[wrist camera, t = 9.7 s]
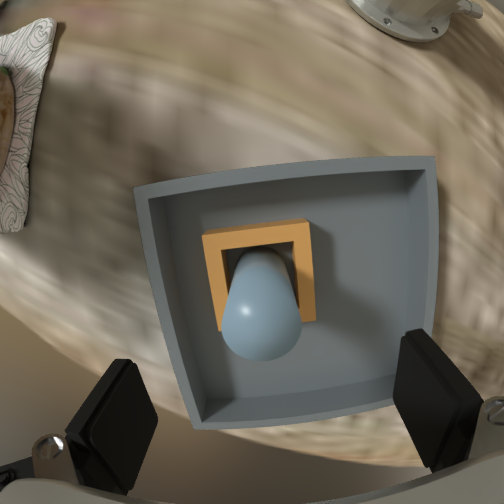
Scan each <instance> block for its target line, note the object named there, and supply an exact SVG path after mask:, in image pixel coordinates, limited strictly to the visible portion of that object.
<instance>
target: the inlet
mask: <svg viewBox="0 0 504 504" xmlns="http://www.w3.org/2000/svg"><path fill="white" fill-rule="evenodd" d="M202 241H203V247H204V253H205V259H206V265H207V271H208V277H209V282H210V288H211V293H212V299H213V304H214V309H215V315H216V320H217V325H218V330H219V331H222V329H221V323H222V318H223V314H224V310H225V306H226V302H227V299H228V295H229V291H230V287H231V281H230V275H229V269H228V262H227V256H226V249H232V248H240V247H248V246H257V245H265V244H273V243H282V242H290V241H291V247H292V257H293V268H294V278H295V289H296V296H295V299H296V303H297V306H298V310H299V313H300V317H301V321H302V322H308V321H315V320H316V308H315V292H314V277H313V263H312V251H311V240H310V229H309V222H308V221H307V220H306V219H304V218H299V219H291V220H282V221H274V222H265V223H257V224H249V225H241V226H233V227H225V228H218V229H210V230H207V231H206V232H205V233H204V234H203V235H202Z"/></svg>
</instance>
